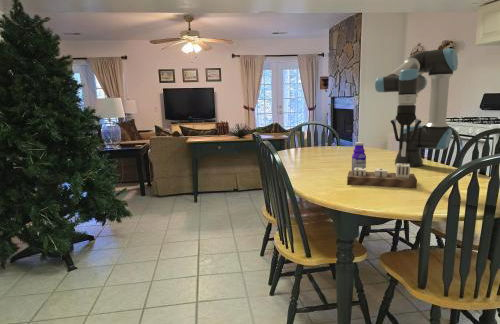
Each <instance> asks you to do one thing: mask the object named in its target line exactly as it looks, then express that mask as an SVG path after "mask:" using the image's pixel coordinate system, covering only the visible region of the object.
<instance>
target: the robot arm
mask: <svg viewBox="0 0 500 324" xmlns="http://www.w3.org/2000/svg"><path fill="white" fill-rule="evenodd" d="M458 61H459V60H458V53H457V52H456V50H455V49H454V48H441V49H439V48H438V49H433V50H423V51H420V52H417V53H414V54H413V55H410V56H409V57H407V58H406V59H404V61H403V62H402V63H401V64H400V65H399V66H398V67H397V68H395V70H393V71H391V72H390V73H389V74H387V75H386V76H379V77H377V78H376V79H375V81H374V83H375V84H374V86H375V89H374V90H375V91H376V92H378V93H396V92H397V93H398V95H397V106H396V107H397V111H396V115H395V118H393V119H390V124H392V128H393V132H394V138H395V141H396V142H398V152H397V155H396V157H395V159H394V164H395V165H396V163H398V164H405V163H407V164H409V165H410V168H411V167H413V168H414V167H415V168H416V167H422V166H423V162H424V161H423V158H422V157H423V156H422V154H421V149H430V150H431V149H432V150H437V151H438V150H446V149H447V148H448V147H449V145H450V143H451V140H452V136H453V130H452V128H449V127H450V125H449V124H448V123H447V114H448V101H449V88H450V78H451V77H452V76H453V75H454V72H456V71H457V70H458V66H459V62H458ZM422 73H423V74H424V73H425V74H426V73H428V77H429V78H430V79H431V81H430V94H429V105H428V106H429V108H428V110H429V111H428V122H427V123H426V124H425V126H424V127H423V125H421V123H422V120H421V119H418V118H417V115H416V112H417V111H416V109H417V106H416V104H417V95H418V94H417V93H418V92H420V91H421V92H422V91H423V90H424V89H425V88H427V84H428V81H427V78H426V77H425V76H424V75H422ZM397 123H398V124H399V125H400V126H399V127H400V130H399V134H398V129H397ZM413 123H414V125H413Z"/></svg>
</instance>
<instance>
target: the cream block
mask: <svg viewBox="0 0 500 324" xmlns="http://www.w3.org/2000/svg"><path fill="white" fill-rule="evenodd" d="M374 172H375V177H387V173H388V169H387V168H378V167H377V168H376V167H375V168H374Z"/></svg>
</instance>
